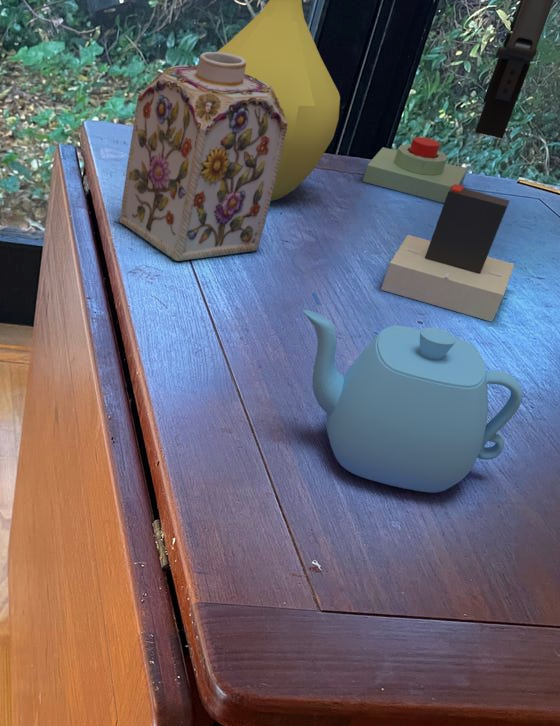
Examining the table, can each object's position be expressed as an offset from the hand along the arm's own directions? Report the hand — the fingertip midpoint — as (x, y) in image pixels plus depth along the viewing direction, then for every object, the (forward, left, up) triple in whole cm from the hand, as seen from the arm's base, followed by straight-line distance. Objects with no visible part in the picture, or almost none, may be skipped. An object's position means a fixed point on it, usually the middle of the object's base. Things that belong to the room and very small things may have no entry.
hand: (492, 119), depth 103 cm
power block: (+8, -29, -16) cm, 34 cm away
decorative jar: (+26, +12, -16) cm, 33 cm away
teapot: (-3, +45, -16) cm, 48 cm away
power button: (+8, -29, -12) cm, 32 cm away
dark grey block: (-2, +6, -13) cm, 14 cm away
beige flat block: (-2, +6, -16) cm, 17 cm away
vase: (+26, -9, -16) cm, 32 cm away
